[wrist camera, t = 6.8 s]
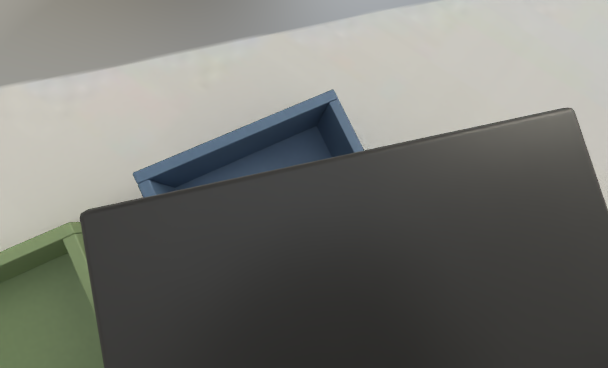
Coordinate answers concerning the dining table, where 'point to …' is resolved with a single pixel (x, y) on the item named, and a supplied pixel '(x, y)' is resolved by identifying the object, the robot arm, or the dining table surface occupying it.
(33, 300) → the green bin
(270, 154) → the blue bin
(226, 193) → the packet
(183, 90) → the dining table surface
